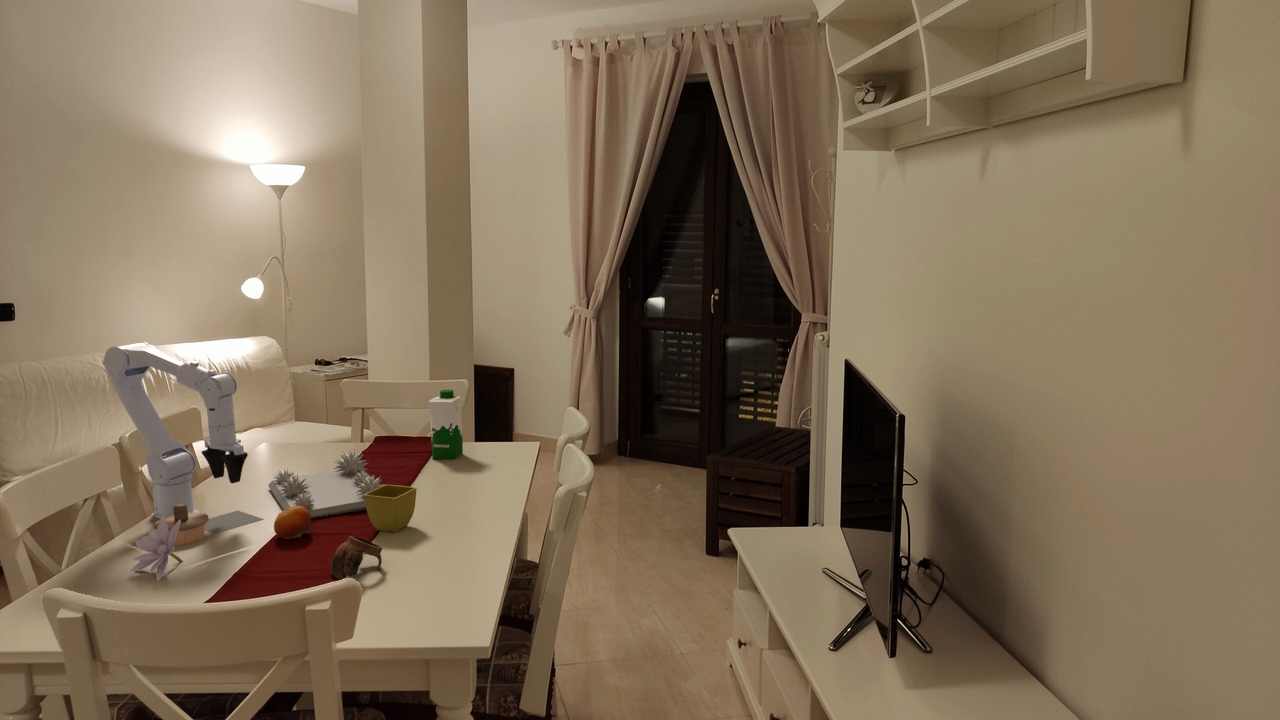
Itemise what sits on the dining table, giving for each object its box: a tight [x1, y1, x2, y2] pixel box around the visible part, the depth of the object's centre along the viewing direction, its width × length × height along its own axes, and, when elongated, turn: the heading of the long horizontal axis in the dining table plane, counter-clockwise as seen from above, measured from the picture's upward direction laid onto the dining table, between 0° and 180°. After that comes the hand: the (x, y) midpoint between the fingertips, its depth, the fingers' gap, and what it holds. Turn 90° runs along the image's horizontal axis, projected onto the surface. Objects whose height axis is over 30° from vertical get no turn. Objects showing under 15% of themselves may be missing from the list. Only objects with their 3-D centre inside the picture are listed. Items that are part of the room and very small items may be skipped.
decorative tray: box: [267, 448, 386, 519], centre depth 230 cm, size 35×26×10 cm
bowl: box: [153, 525, 206, 547], centre depth 201 cm, size 10×10×4 cm
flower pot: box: [364, 484, 417, 533], centre depth 205 cm, size 9×9×9 cm
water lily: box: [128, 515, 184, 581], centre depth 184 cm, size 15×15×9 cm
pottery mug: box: [330, 535, 383, 580], centre depth 179 cm, size 12×10×8 cm
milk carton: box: [427, 389, 464, 461], centre depth 268 cm, size 9×9×20 cm
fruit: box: [273, 506, 312, 539], centre depth 202 cm, size 8×8×8 cm
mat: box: [204, 510, 265, 535], centre depth 212 cm, size 12×12×1 cm
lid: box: [153, 504, 209, 532], centre depth 201 cm, size 11×11×4 cm
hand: (226, 479), depth 213 cm, fingers open, 7 cm apart
